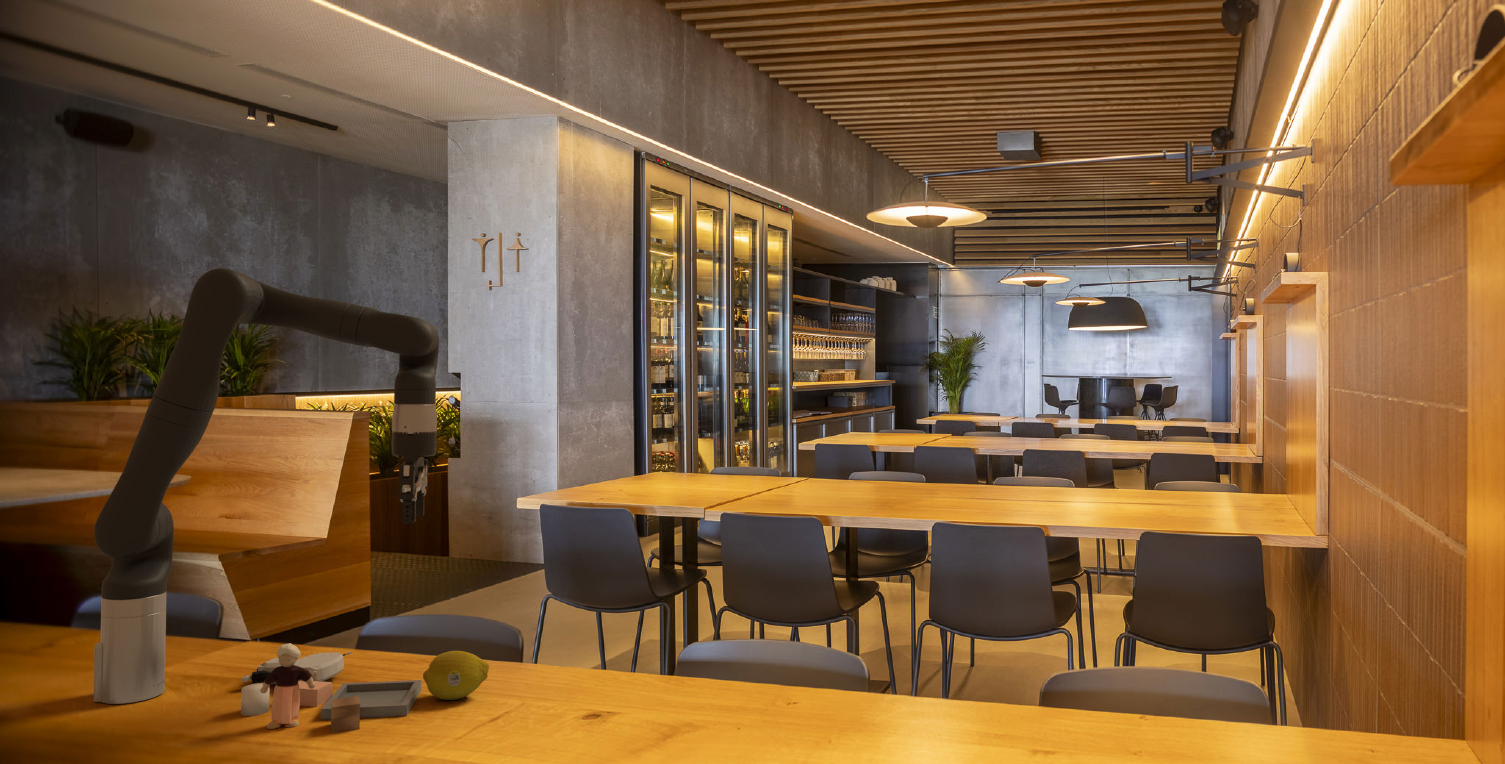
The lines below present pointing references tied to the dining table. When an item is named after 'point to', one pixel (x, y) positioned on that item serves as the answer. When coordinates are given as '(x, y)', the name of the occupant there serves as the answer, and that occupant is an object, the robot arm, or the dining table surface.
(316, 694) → the terracotta block
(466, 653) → the lemon
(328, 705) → the tray
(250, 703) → the white rounded cylinder block
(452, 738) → the dining table surface
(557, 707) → the dining table surface
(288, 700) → the grandmother figurine
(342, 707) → the walnut cube
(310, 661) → the robot toy
